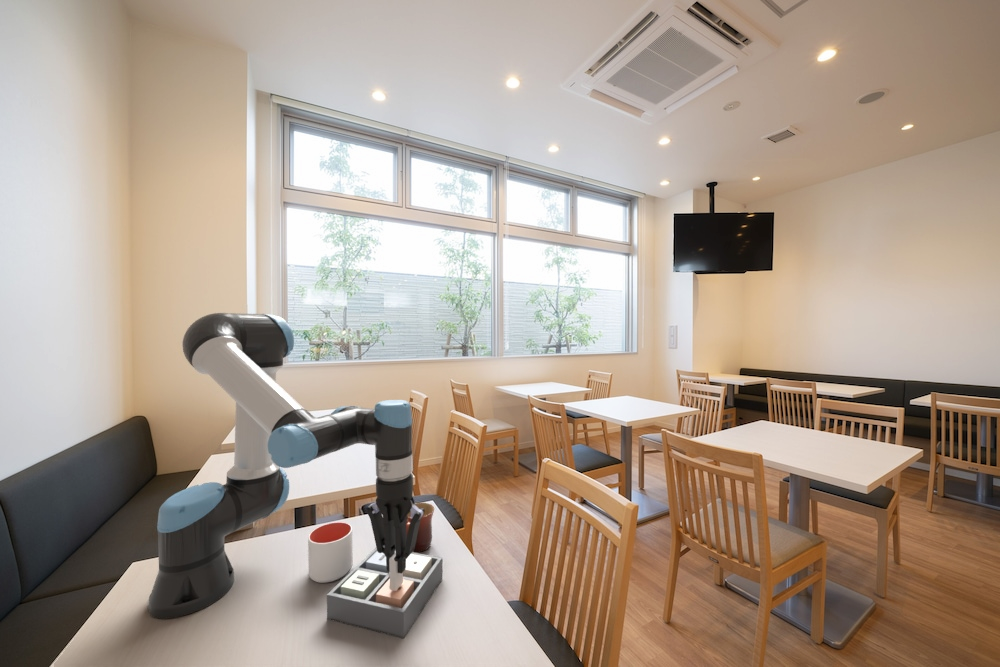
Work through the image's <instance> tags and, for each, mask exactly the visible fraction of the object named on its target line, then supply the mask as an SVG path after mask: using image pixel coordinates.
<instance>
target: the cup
mask: <svg viewBox="0 0 1000 667" xmlns="http://www.w3.org/2000/svg"><path fill="white" fill-rule="evenodd" d="M307 538H308V540H307V542H308V544H307V547H308V550H307V552H308V554H307V555H308V576H309V578H310V580H312V581H314V582H316V583H319V584H321V583H322V584H323V583H331V582H334V581H336V580H339V579H342V577H343V578H344V576H346V575H347V574H348V573H349V571H351V569H352V565H353V527H352V525H351V524H349V523H347V522H341V521H337V522H330V523H325V524H323V525H320V526H318V527H316V528H314V529H313V530H312V531H311V532H310V533H309V534H308V537H307Z"/></svg>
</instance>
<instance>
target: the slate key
mask: <svg viewBox="0 0 1000 667" xmlns="http://www.w3.org/2000/svg"><path fill="white" fill-rule="evenodd" d="M395 552H396V551H395ZM366 569H369V570H374V571H379V572H384V573H389V572H390V571H387V569H386V556H385V554H384V553H378V551H376V552H375V553H374V554H373V555H372V556H371V557H370V558H369V559H368V560H367V561H366Z"/></svg>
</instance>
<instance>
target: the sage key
mask: <svg viewBox="0 0 1000 667" xmlns="http://www.w3.org/2000/svg"><path fill="white" fill-rule="evenodd" d="M378 584H379V574H375V573H370V572H365V571H360V570H357V571H356V572H355V573H354V574H353V575H352V576H351V577H350V578H349V579H348V580H347V581H346V582H345V583H344V584H343V585H342V586H341V595H345V596H349V597H354V598H358V599H363V600H365V599H366V598H367V597H368V596H369V595H370V593H371V592H372V591H373V590H374V589H375V588H376V587H377V586H378Z"/></svg>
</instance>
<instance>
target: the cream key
mask: <svg viewBox="0 0 1000 667" xmlns="http://www.w3.org/2000/svg"><path fill="white" fill-rule="evenodd" d="M431 568H432V558H430V557H425V556H419V555H414V554H410V555H409V556H408V558H407V559H406V569H405V570H404V571H403V576H404V577H409V578H414V579H419V580H423V579H424V578H425V576H426V575H427V573H428V572H429V571H430V569H431Z"/></svg>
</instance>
